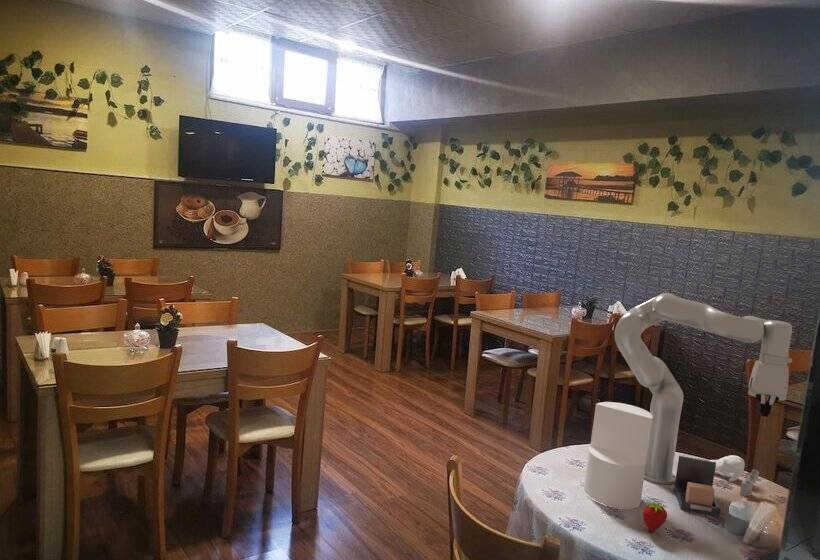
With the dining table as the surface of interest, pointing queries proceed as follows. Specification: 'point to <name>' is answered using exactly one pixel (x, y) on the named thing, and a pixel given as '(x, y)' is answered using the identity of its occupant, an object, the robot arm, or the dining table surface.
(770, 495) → the dining table surface
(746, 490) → the lighter
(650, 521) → the strawberry
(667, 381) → the robot arm
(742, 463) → the white rounded lump
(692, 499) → the cardboard box
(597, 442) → the cylinder
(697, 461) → the rack
